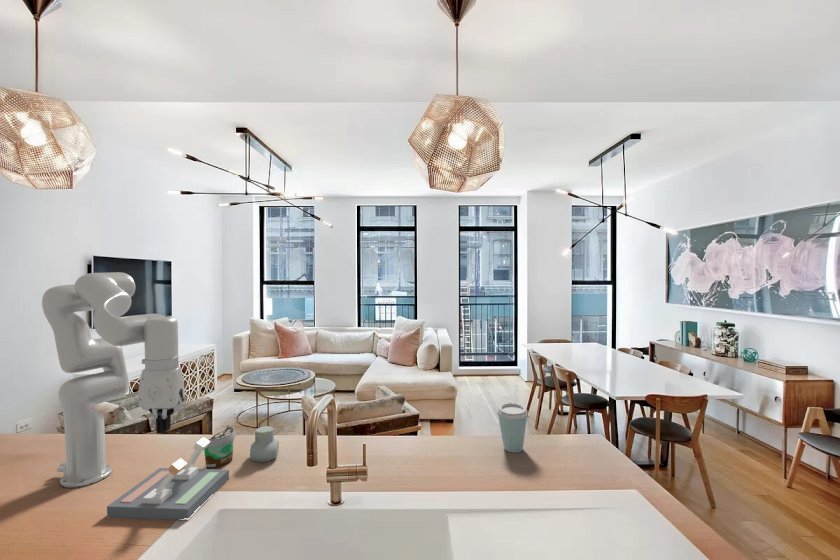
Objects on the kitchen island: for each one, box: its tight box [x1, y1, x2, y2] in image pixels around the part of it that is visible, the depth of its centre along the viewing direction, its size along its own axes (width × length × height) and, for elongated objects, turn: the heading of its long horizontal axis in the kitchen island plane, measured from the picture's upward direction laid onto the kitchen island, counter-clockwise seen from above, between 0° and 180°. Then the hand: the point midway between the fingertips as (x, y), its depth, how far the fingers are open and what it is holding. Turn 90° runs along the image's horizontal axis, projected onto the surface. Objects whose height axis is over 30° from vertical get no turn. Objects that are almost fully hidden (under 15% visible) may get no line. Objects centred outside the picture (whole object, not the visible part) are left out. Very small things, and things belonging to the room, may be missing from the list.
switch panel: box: [106, 466, 230, 521], centre depth 116 cm, size 22×20×4 cm
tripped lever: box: [155, 457, 187, 495], centre depth 110 cm, size 2×4×10 cm
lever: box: [184, 437, 210, 471], centre depth 122 cm, size 2×4×10 cm
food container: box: [203, 425, 237, 469], centre depth 136 cm, size 12×6×10 cm, turn 168°
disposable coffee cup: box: [496, 402, 528, 453], centre depth 145 cm, size 11×11×15 cm
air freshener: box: [249, 425, 280, 463], centre depth 139 cm, size 11×8×10 cm
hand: (163, 431), depth 110 cm, fingers closed
